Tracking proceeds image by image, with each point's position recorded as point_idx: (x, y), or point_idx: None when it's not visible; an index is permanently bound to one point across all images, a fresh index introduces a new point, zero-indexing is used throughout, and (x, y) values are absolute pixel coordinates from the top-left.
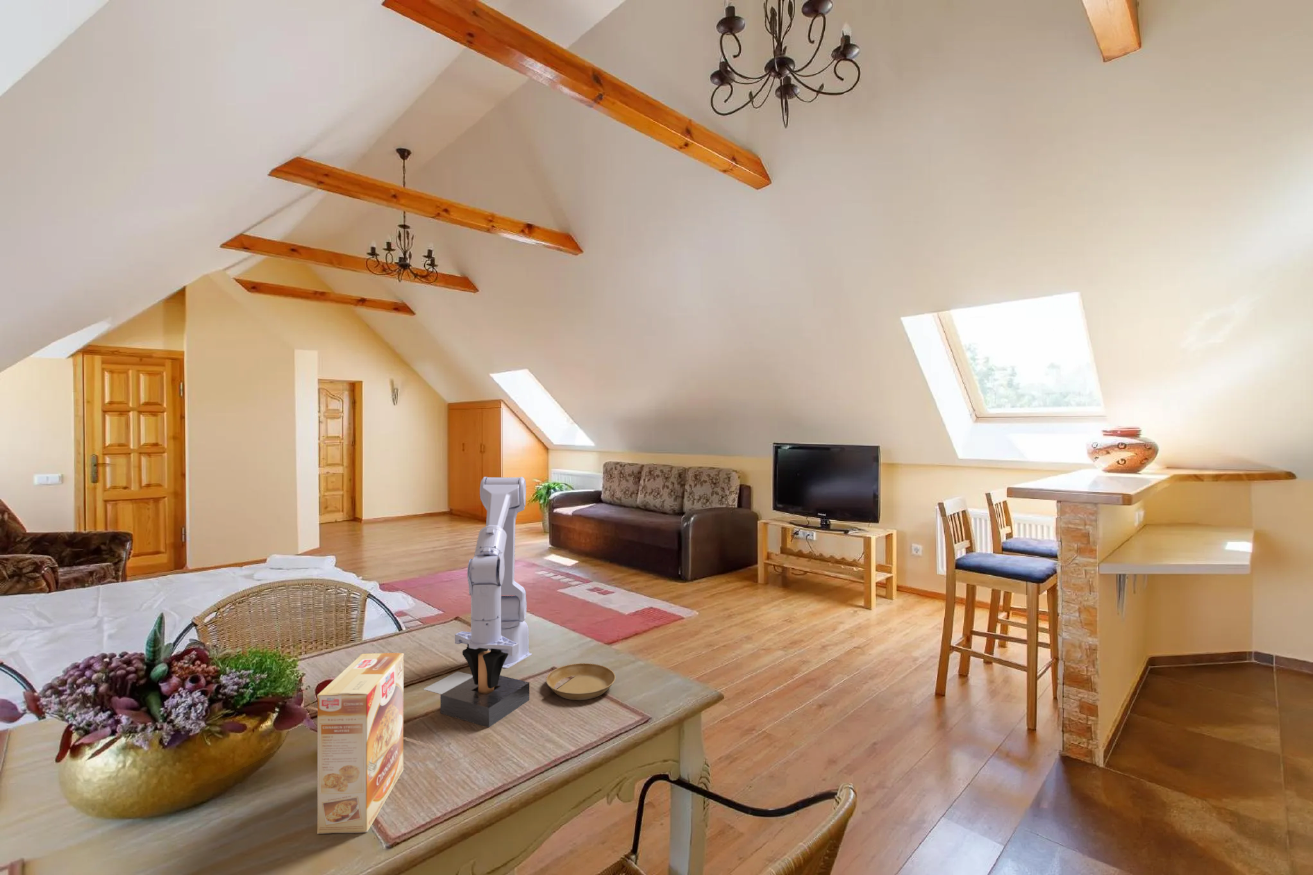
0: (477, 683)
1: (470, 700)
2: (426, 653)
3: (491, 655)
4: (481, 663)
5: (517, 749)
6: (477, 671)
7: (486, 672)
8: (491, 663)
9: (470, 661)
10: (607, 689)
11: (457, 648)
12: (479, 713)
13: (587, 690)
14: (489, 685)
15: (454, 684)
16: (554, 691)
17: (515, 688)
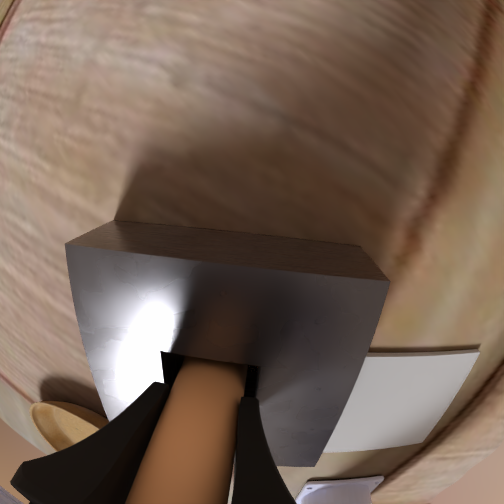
0: (240, 402)
1: (186, 280)
2: (493, 440)
3: (31, 499)
4: (164, 488)
5: (8, 167)
6: (236, 453)
7: (155, 443)
8: (48, 460)
9: (254, 502)
10: (46, 424)
11: (446, 474)
12: (129, 237)
13: (81, 431)
14: (152, 388)
15: (407, 406)
16: (97, 420)
17: (112, 402)
